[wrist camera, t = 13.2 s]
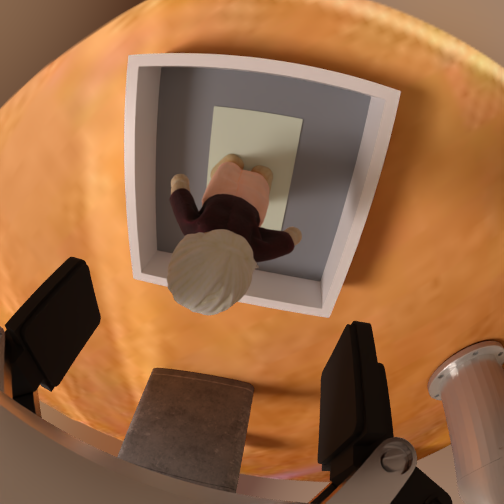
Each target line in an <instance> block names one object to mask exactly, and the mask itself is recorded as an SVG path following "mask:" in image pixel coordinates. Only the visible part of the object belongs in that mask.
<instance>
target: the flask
mask: <svg viewBox="0 0 504 504" xmlns="http://www.w3.org/2000/svg"><path fill="white" fill-rule="evenodd" d="M253 392H254V387H253V386H252V385H251V384H249V383H246V382H242V381H238V380H233V379H228V378H223V377H218V376H213V375H207V374H201V373H195V372H188V371H181V370H174V369H164V368H154V369H153V371H152V373H151V375H150V378H149V380H148V382H147V385H146V387H145V390H144V392H143V394H142V397H141V399H140V402H139V404H138V406H137V409H136V411H135V414H134V416H133V419H132V421H131V424H130V426H129V429H128V431H127V434H126V436H125V439H124V442H123V444H122V447H121V449H120V452H119V455H118V457H117V458H120V459H122V460H124V461H127V462H129V463H132V464H135V465H137V466H140V467H142V468H145V469H148V470H151V471H154V472H157V473H159V474H162V475H166V476H169V477H172V478H175V479H178V480H182V481H185V482H189V483H192V484H196V485H200V486H204V487H208V488H212V489H217V490H221V491H226V492H231V493H236V488H237V484H238V478H239V473H240V467H241V462H242V456H243V451H244V445H245V439H246V433H247V428H248V422H249V416H250V410H251V404H252V398H253Z"/></svg>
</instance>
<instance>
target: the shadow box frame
mask: <svg viewBox="0 0 504 504" xmlns="http://www.w3.org/2000/svg"><path fill="white" fill-rule="evenodd" d="M400 94H401V91H399V90H396V89H393V88H390V87H387V86H384V85H381V84H378V83H375V82H371V81H368V80H365V79H361V78H358V77H354V76H350V75H346V74H342V73H338V72H334V71H330V70H326V69H321V68H316V67H312V66H307V65H301V64H296V63H290V62H284V61H277V60H271V59H263V58H255V57H245V56H235V55H221V54H200V53H160V54H139V55H129V56H128V67H127V80H126V96H125V122H124V164H125V192H126V209H127V222H128V234H129V244H130V254H131V262H132V270H133V278H134V279H137V280H142V281H146V282H150V283H154V284H158V285H163V286H167V287H168V283H167V276H168V265H169V263H170V260H171V257H172V254H173V251H174V250H175V248H176V246H177V245H178V244H179V242H180V241H181V240H182V239H183V238H184V237H185V236H184V234H183V233H182V231H181V229H180V227H179V224H178V223H177V220H176V218H175V215H174V213H173V210H172V207H171V205H170V201H169V198H170V196H171V188H172V187H171V180H172V178H173V177H174V176H175V175H177V174H184V175H186V176H187V177H188V179H189V187H190V193H191V194H192V196H193V198H194V201H195V204H196V206H197V208H198V211H200V209H201V208H202V198H203V195H204V193H205V190H206V188H207V186H208V184H209V182H210V180H211V176H210V174H211V170H212V169H213V167H214V166H215V165H216V164H217V163H218V162H219V161H220V160H221V159H223V158H224V157H225V156H226V155H228V154H235V155H237V156H238V157H240V158H241V159H242V160H243V162H244V168H243V170H247V171H251V170H252V168H253V167H255V166H257V165H262V166H265V167H268V168H269V169H270V170H271V171H272V173H273V180H272V185H271V190H270V194H269V205H268V209H267V212H266V216H265V219H264V222H263V224H262V225H261V227H263V228H266V229H271V230H279V231H284V230H286V229H287V228H289V227H296V228H298V229H299V230H300V231H301V233H302V239H301V241H300V243H298V244H297V245H295V247H294V250H293V251H292V252H291V253H289V254H287V255H284V256H281V257H279V258H276V259H273V260H269V261H263V262H256V263H257V265H258V266H259V268H256V269H255V270H254V271H253V274H252V281H251V284H250V286H249V288H248V290H247V292H246V294H245V295H244V296H243V297H242V298H241V299H240V300H239V301H238V302H242V303H247V304H253V305H258V306H263V307H269V308H274V309H280V310H285V311H291V312H297V313H303V314H309V315H315V316H321V317H327V318H329V317H330V314H331V312H332V310H333V307H334V305H335V302H336V300H337V297H338V295H339V293H340V290H341V288H342V285H343V282H344V280H345V277H346V275H347V272H348V270H349V267H350V264H351V262H352V259H353V256H354V253H355V251H356V248H357V245H358V242H359V239H360V237H361V234H362V231H363V228H364V225H365V222H366V219H367V216H368V213H369V210H370V207H371V204H372V200H373V197H374V194H375V191H376V187H377V184H378V181H379V177H380V174H381V170H382V167H383V163H384V160H385V156H386V152H387V149H388V145H389V141H390V137H391V133H392V129H393V125H394V121H395V116H396V112H397V108H398V103H399V98H400Z"/></svg>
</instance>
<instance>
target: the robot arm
mask: <svg viewBox="0 0 504 504" xmlns="http://www.w3.org/2000/svg"><path fill="white" fill-rule="evenodd" d="M100 319H101V316H100V312H99V309H98V305H97V301H96V297H95V293H94V289H93V284H92V280H91V275H90V271H89V267H88V266H87V265H86V262H85V261H84V260H82V259H78V258H75V257H70V258H68V259H67V260H66V261H65V262H64V263H63V264H62V265H61V266H60V267H59V268H58V269H57V270H56V271H55V272H54V273H53V274H52V275H51V276H50V277H49V278H48V279H47V280H46V281H45V282H44V283H43V284H42V285H41V286H40V287H39V288H38V289H37V290H36V291H35V292H34V293H33V294H32V295H31V296H30V298H29V299H28V300H27V301H26V302H25V303H24V304H23V305H22V306H21V307H20V308H19V310H18V311H17V312H16V313H15V314H14V315H13V316H12V317H11V319H10V320H9V321H8V322H7V323H6V324H5V327H6V329H7V330H6V331H5V332H4V330H3V328H1V327H0V504H452V500H451V497H450V496H449V495H448V493H447V492H445V491H444V490H443V489H442V488H441V487H439V486H438V485H437V484H436V483H435V482H434V481H432V480H431V479H430V478H429V477H428V476H427V475H426V474H424V473H423V472H422V471H421V470H420V469H419V468H417V467H416V464H417V455H416V451H415V449H414V447H413V446H412V445H411V444H410V443H409V442H408V441H407V440H405V439H403V438H398V437H394V436H393V426H392V417H391V408H390V400H389V393H388V386H387V379H386V373H385V368H384V366H383V364H381V363H378V362H377V356H376V349H375V344H374V338H373V332H372V327H371V324H370V323H364V322H358V321H353V322H352V324H351V325H349V324H347V325H346V327H345V329H344V331H343V333H342V335H341V337H340V339H339V341H338V343H337V345H336V347H335V349H334V351H333V353H332V355H331V357H330V358H329V360H328V362H327V364H326V366H325V368H324V370H323V372H322V376H321V398H320V425H319V445H318V463H319V464H322V471H330V481H331V482H330V483H329V484H328V485H327V486H326V487H325V488H324V489H323V490H322V491H321V492H320V493H319V494H317V495H316V496H315V497H314V498H313V499H312V500H311V501H310V502H308V503H300V502H291V501H281V500H273V499H266V498H259V497H253V496H247V495H242V494H236V493H231V492H226V491H221V490H217V489H212V488H208V487H204V486H200V485H196V484H192V483H189V482H185V481H182V480H178V479H175V478H172V477H169V476H166V475H162V474H159V473H157V472H154V471H151V470H148V469H145V468H142V467H140V466H137V465H135V464H132V463H129V462H127V461H124V460H122V459H120V458H117V457H115V456H113V455H110V454H108V453H106V452H104V451H102V450H99V449H97V448H95V447H93V446H91V445H89V444H87V443H85V442H83V441H81V440H79V439H77V438H75V437H73V436H72V435H70V434H68V433H66V432H64V431H62V430H61V429H59V428H57V427H55V426H54V425H52V424H50V423H48V422H47V421H45V420H44V419H42V417H41V411H40V404H39V396H38V387H39V385H40V384H41V386H42V387H44V388H46V389H47V390H49V391H51V392H52V390H53V388H54V387H56V386H58V385H59V384H60V382H61V381H62V379H63V377H64V376H65V374H66V373H67V371H68V370H69V368H70V366H71V365H72V363H73V362H74V360H75V359H76V357H77V356H78V354H79V353H80V351H81V350H82V348H83V347H84V345H85V344H86V342H87V341H88V339H89V338H90V337H91V335H92V334H93V332H94V331H95V329H96V328H97V327H98V325H99V323H100ZM503 363H504V348H503V346H502V344H500V343H499V342H496V341H484V342H480V343H477V344H474V345H472V346H469V347H467V348H465V349H463V350H461V351H459V352H458V353H456V354H455V355H453V356H452V357H450V358H449V359H448V360H446V361H445V362H444V363H443V364H442V365H440V366H439V367H438V368H437V370H436V371H435V372H434V373H433V375H432V376H431V377H430V380H429V382H428V391H429V394H430V396H431V397H432V398H434V399H437V400H442V403H443V407H444V411H445V416H446V420H447V425H448V430H449V435H450V440H451V445H452V451H453V456H454V463H455V470H456V477H457V485H458V492H459V496H460V498H461V499H462V501H463V502H464V503H465V504H504V370H503V367H502V365H503Z"/></svg>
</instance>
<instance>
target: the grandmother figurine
mask: <svg viewBox="0 0 504 504" xmlns="http://www.w3.org/2000/svg"><path fill="white" fill-rule="evenodd" d="M243 168H244V162H243V160H242V159H241V158H240V157H238V156H237V155H235V154H228V155H226V156H225V157H224V158H223V159H221V160H220V161H219V162H218V163H217V164H216V165H215V166H214V167H213V169H212V170H211V174H210V176H211V180H210V182H209V184H208V186H207V188H206V190H205V193H204V195H203V198H202V208H201V209H200V211H198V208H197V206H196V204H195V201H194V198H193V196H192V194H191V193H190V187H189V179H188V177H187V176H186V175H184V174H177V175H175V176H174V177H173V178H172V180H171V187H172V188H171V196H170V198H169V201H170V205H171V207H172V210H173V213H174V215H175V218H176V220H177V223H178V224H179V227H180V229H181V231H182V233H183V234H184V236H185V237H184V238H183V239H182V240H181V241H180V242H179V244H178V245H177V246H176V248H175V250H174V251H173V254H172V257H171V260H170V263H169V265H168V276H167V283H168V289H169V290H170V291H171V292H172V294H173V297H174V300H175V301H176V302H177V303H179V304H180V305H182V306H184V307H186V308H188V309H190V310H191V311H192V312H197V313H201V314H203V315H214V314H218V313H220V312H222V311H225V310H227V309H228V308H229V307H231V306H232V305H233V304H235V303H236V302H238V301H239V300H240V299H241V298H242V297H243V296H244V295H245V294H246V292H247V290H248V288H249V286H250V284H251V281H252V274H253V271H254V270H255V269H256V268H259V266H258V265H257V263H256V262H263V261H269V260H273V259H276V258H279V257H281V256H284V255H287V254H289V253H291V252H292V251H293V250H294V247H295V245H297V244H298V243H300V241H301V239H302V233H301V231H300V230H299V229H298V228H296V227H289V228H287V229H286V230H284V231H279V230H271V229H266V228H263V227H261V225H262V224H263V222H264V219H265V216H266V212H267V209H268V205H269V194H270V190H271V185H272V180H273V173H272V171H271V170H270V169H269V168H268V167H265V166H262V165H257V166H255V167H253V168H252V170H251V171H247V170H243Z"/></svg>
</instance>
